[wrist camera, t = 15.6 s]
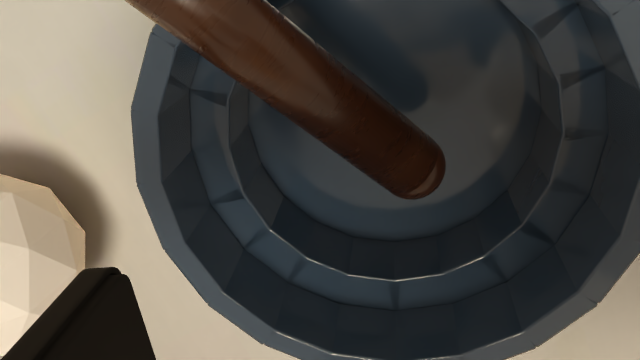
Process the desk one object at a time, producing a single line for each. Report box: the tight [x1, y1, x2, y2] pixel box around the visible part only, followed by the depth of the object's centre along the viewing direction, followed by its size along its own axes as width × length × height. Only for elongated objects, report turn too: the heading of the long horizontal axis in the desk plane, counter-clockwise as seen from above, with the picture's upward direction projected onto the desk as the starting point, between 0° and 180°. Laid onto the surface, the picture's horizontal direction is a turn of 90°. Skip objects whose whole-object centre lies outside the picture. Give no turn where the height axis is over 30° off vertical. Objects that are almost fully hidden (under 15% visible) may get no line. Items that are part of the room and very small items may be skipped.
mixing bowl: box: [131, 0, 640, 360], centre depth 18 cm, size 15×15×6 cm
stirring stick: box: [125, 0, 446, 200], centre depth 13 cm, size 2×2×16 cm
